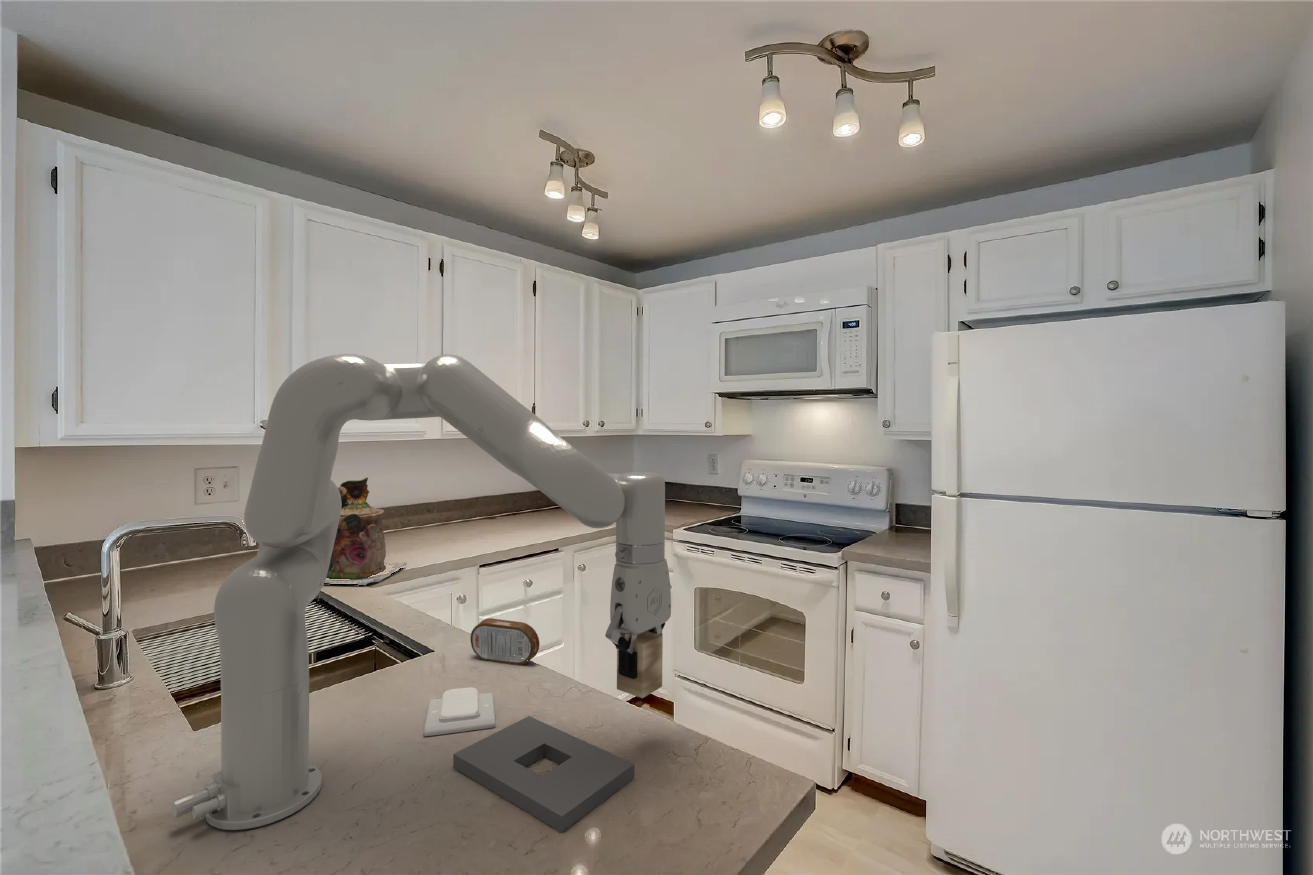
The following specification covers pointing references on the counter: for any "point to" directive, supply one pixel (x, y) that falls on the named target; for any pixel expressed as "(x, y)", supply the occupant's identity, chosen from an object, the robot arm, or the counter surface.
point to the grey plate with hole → (557, 792)
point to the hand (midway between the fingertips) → (639, 668)
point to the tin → (504, 641)
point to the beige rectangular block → (644, 666)
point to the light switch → (460, 712)
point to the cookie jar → (358, 538)
